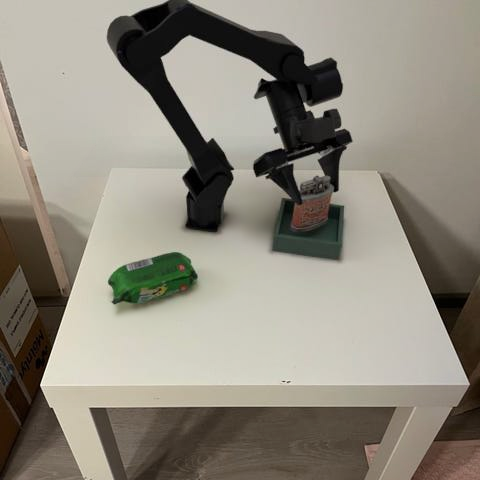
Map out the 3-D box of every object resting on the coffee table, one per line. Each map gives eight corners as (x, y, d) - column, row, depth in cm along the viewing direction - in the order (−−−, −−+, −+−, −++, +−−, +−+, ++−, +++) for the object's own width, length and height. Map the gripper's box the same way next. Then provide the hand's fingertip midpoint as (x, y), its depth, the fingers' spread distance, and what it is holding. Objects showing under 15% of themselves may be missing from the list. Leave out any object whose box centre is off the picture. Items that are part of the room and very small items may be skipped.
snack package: (105, 289, 85) (99, 267, 81) (189, 264, 89) (187, 242, 85) (116, 317, 80) (111, 295, 76) (203, 289, 85) (203, 267, 81)
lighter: (320, 213, 97) (329, 168, 89) (330, 222, 95) (340, 177, 87) (286, 224, 94) (292, 179, 86) (296, 234, 92) (303, 189, 84)
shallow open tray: (272, 250, 93) (273, 235, 90) (280, 212, 101) (281, 197, 98) (338, 260, 91) (341, 245, 89) (341, 220, 100) (344, 205, 97)
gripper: (267, 106, 75) (301, 202, 77) (357, 82, 82) (386, 171, 85) (238, 132, 85) (269, 217, 88) (320, 109, 93) (347, 188, 95)
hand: (318, 198), depth 88 cm, fingers closed on lighter, 8 cm apart
